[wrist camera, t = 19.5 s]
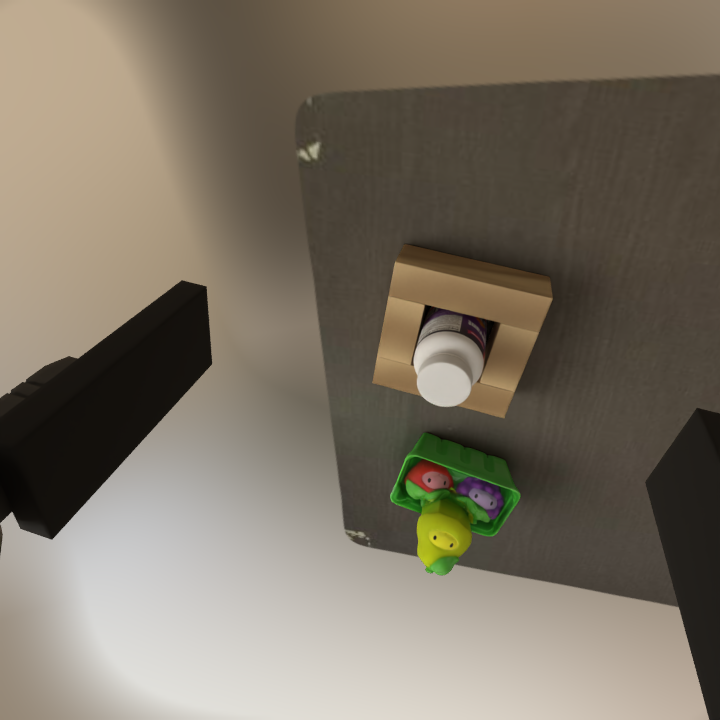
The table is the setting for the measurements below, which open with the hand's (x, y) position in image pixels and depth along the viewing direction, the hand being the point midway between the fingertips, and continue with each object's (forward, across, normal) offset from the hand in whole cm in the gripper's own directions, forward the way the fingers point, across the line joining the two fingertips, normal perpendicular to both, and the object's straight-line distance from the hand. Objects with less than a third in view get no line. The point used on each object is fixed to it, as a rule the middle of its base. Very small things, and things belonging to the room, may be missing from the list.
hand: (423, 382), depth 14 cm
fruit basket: (+28, +5, -31) cm, 42 cm away
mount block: (+28, +1, -14) cm, 31 cm away
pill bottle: (+28, +1, -14) cm, 31 cm away
